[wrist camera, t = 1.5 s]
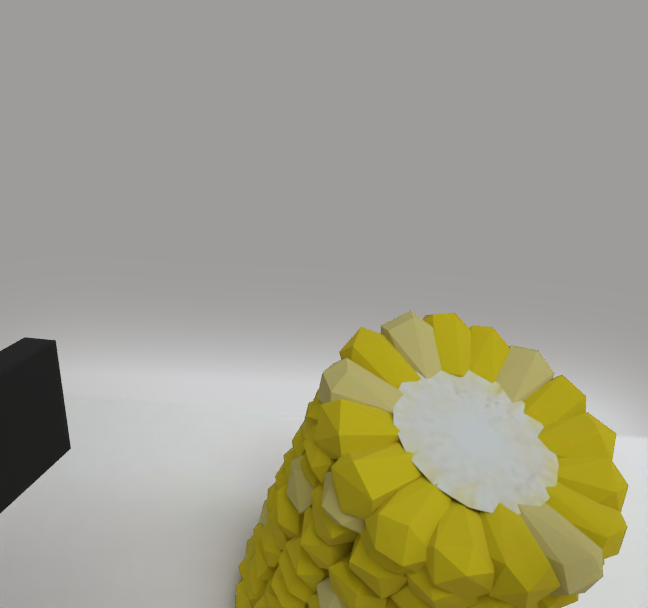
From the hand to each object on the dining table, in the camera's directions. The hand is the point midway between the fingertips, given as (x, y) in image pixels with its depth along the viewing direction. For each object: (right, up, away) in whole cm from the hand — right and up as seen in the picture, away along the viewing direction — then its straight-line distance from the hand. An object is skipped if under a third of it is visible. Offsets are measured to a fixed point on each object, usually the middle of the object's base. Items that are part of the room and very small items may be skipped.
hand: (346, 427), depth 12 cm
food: (+1, -10, +14) cm, 17 cm away
